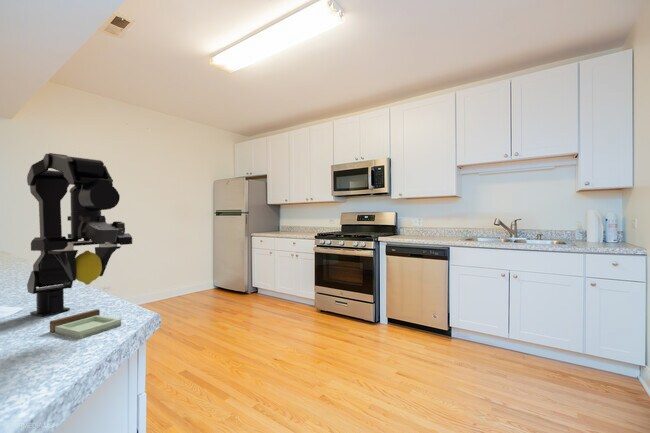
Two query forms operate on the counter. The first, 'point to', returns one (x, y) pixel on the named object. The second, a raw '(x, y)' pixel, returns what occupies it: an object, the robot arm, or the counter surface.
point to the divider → (72, 319)
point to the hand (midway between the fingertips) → (87, 278)
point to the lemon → (88, 267)
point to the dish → (87, 326)
